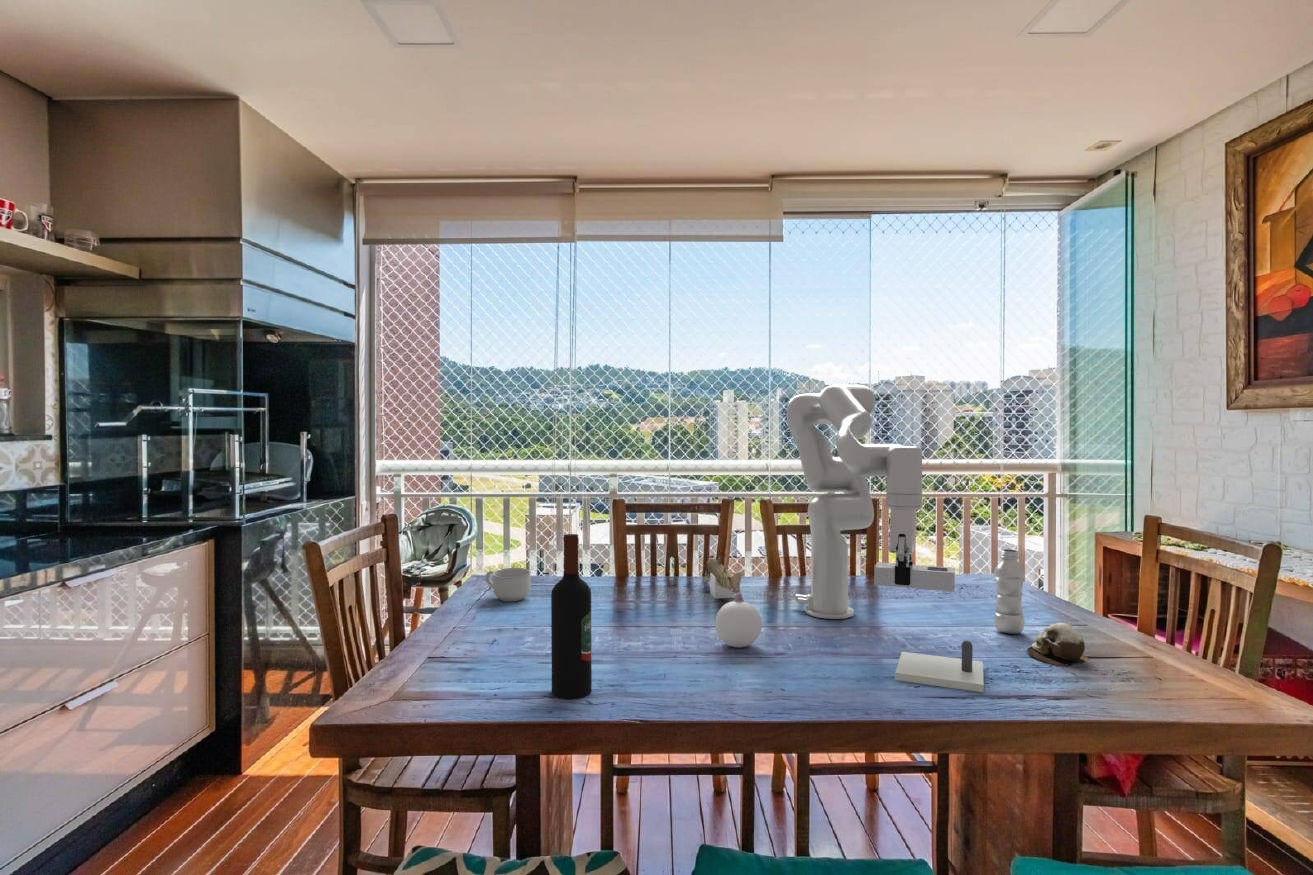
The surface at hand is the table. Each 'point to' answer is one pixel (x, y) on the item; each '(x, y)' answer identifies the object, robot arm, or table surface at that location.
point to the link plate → (917, 577)
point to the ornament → (738, 623)
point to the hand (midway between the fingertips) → (903, 580)
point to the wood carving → (722, 580)
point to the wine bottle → (571, 629)
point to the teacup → (510, 583)
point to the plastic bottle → (1009, 593)
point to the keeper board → (942, 670)
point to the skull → (1059, 646)
